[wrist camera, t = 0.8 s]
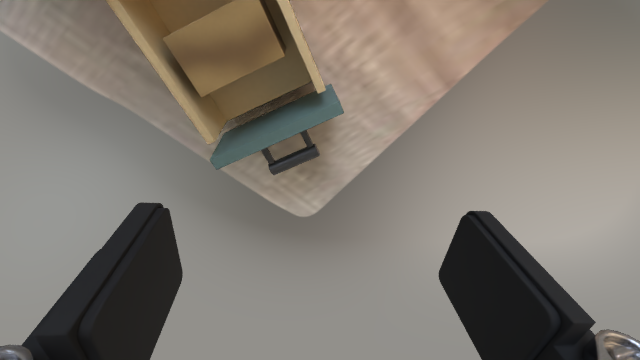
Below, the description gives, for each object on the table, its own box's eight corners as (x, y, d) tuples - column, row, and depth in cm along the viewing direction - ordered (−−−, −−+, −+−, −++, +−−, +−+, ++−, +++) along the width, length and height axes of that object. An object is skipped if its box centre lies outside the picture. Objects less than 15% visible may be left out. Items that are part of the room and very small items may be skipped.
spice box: (184, 33, 27) (162, 38, 22) (260, -8, 26) (253, -11, 21) (215, 83, 30) (201, 97, 25) (286, 48, 28) (285, 56, 24)
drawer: (347, 125, 34) (359, 150, 28) (247, 169, 36) (239, 201, 30) (260, -91, 24) (249, -122, 18) (126, -13, 26) (78, -19, 20)
